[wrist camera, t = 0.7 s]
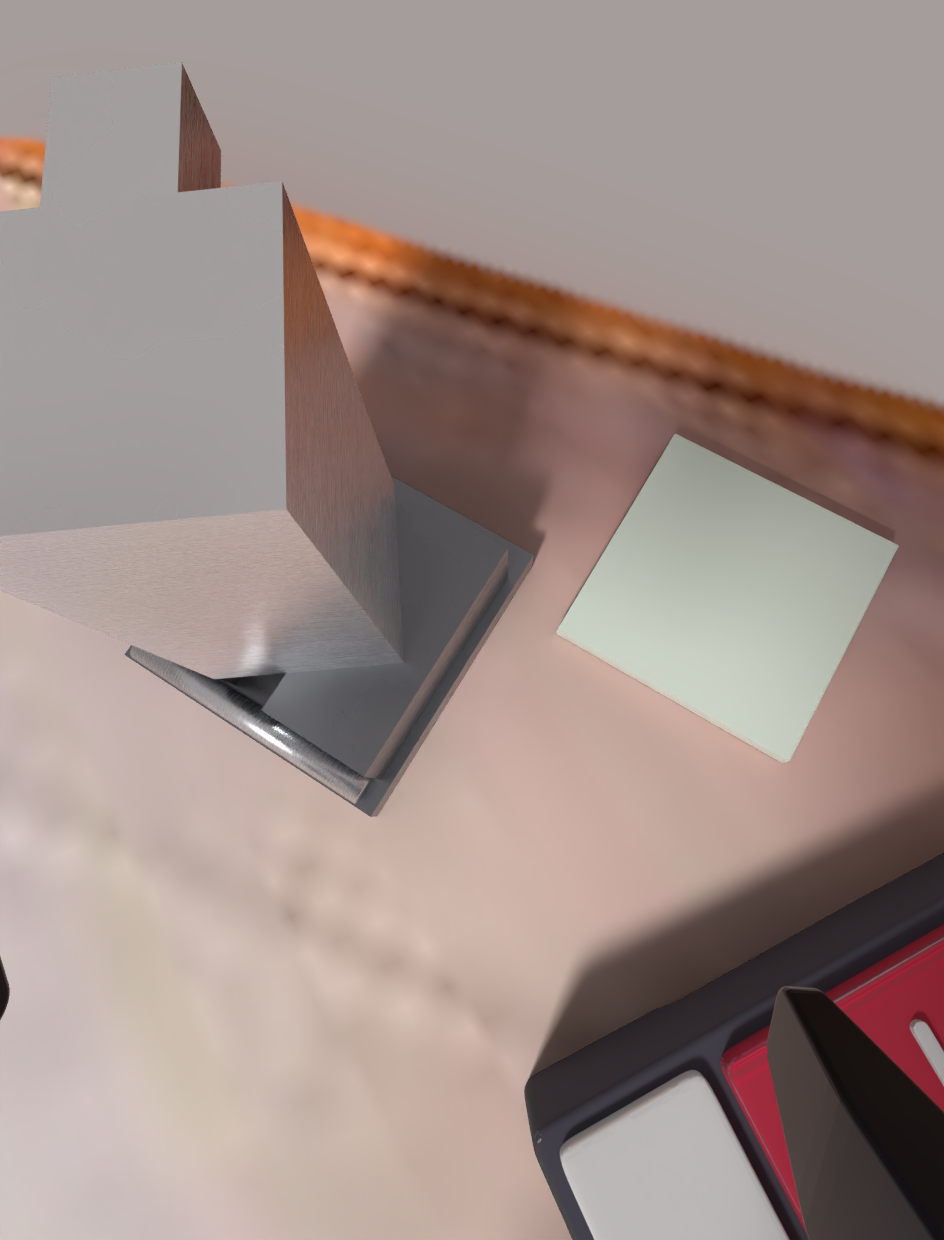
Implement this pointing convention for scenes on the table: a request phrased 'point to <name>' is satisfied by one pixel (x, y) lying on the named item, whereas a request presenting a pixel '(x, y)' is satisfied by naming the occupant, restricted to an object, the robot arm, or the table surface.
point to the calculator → (733, 1078)
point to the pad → (729, 596)
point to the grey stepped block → (183, 404)
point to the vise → (379, 694)
